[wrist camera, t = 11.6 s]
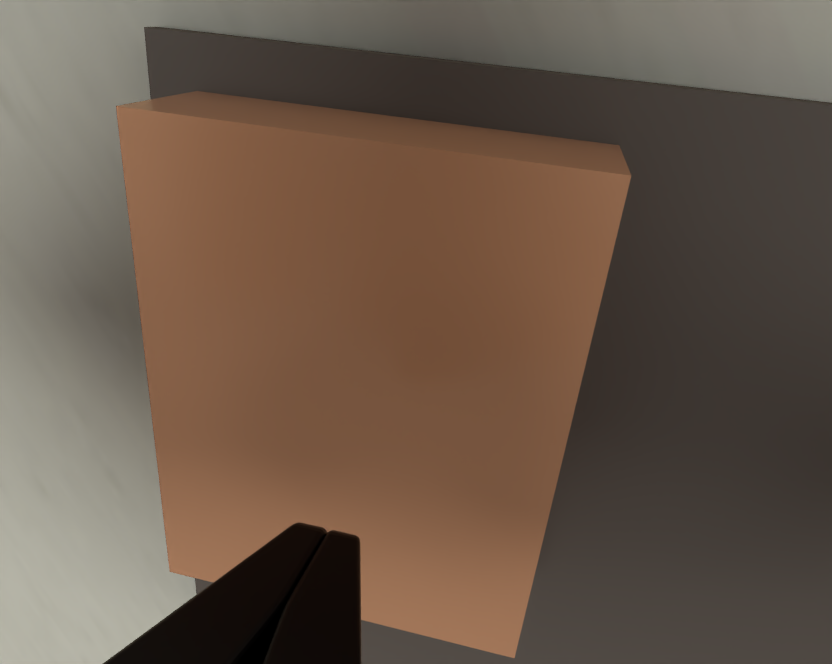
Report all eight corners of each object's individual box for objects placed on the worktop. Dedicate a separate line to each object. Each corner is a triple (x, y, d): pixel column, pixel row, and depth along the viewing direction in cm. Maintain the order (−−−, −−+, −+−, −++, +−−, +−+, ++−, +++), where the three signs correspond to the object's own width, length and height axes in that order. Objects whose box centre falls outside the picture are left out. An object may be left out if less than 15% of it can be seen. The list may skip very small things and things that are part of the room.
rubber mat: (1436, 171, 8) (1477, 178, 8) (919, 812, 15) (927, 832, 15) (158, 27, 11) (144, 27, 11) (208, 626, 18) (200, 638, 17)
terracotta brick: (631, 175, 8) (115, 106, 9) (514, 658, 12) (169, 571, 13) (619, 145, 10) (196, 90, 11) (522, 569, 14) (222, 500, 15)
